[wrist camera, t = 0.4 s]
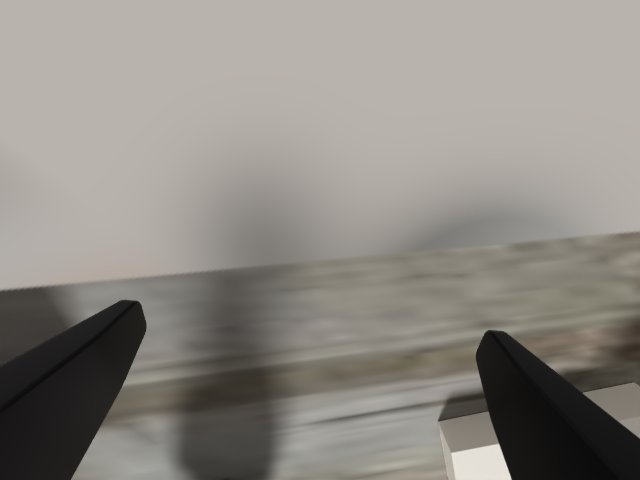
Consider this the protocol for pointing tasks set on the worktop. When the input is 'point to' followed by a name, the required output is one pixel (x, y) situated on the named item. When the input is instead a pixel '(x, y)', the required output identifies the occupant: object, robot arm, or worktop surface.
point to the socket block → (483, 447)
